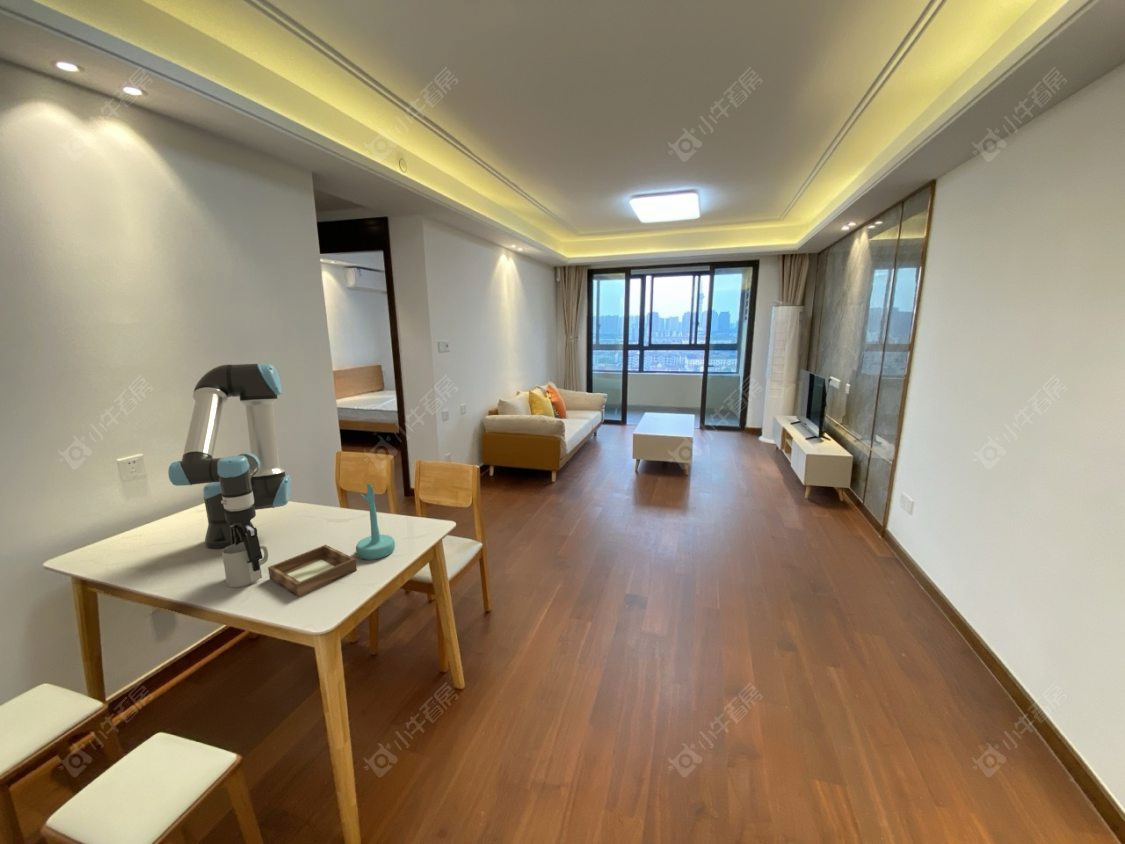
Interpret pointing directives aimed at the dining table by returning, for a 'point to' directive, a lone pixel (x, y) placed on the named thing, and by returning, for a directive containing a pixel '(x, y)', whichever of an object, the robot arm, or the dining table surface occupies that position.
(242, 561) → the mug
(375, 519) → the teal branch stand
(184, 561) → the dining table surface
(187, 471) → the robot arm
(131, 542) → the dining table surface
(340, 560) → the walnut box
